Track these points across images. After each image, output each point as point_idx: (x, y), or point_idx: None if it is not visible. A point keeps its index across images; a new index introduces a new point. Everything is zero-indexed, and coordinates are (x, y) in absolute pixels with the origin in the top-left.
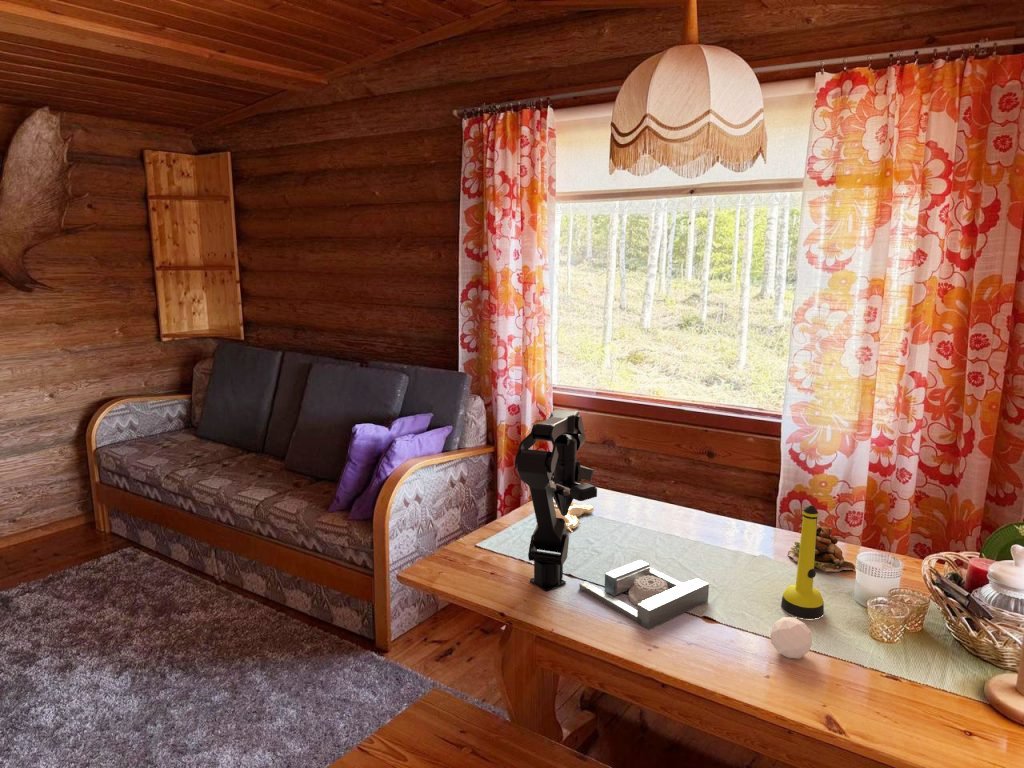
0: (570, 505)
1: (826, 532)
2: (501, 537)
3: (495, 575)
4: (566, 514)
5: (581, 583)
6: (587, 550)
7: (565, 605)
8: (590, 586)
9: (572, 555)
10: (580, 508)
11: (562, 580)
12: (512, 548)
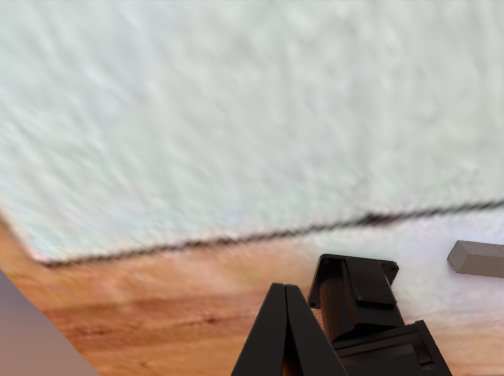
0: (345, 371)
1: None
2: (10, 183)
3: (224, 322)
4: (298, 293)
5: (462, 269)
6: (302, 6)
7: (450, 320)
8: (497, 265)
9: (285, 104)
10: None
11: (384, 266)
12: (109, 212)
